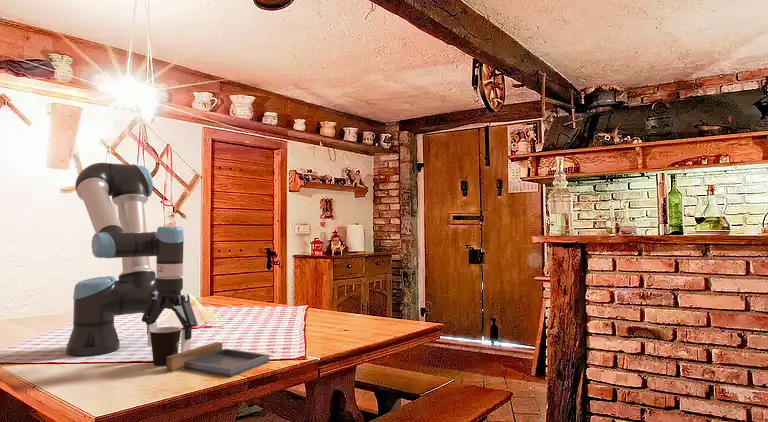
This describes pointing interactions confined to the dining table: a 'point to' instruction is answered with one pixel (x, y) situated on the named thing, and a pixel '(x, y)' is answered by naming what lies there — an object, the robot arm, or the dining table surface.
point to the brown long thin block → (190, 356)
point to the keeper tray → (226, 362)
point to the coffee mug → (164, 343)
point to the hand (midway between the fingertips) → (168, 348)
